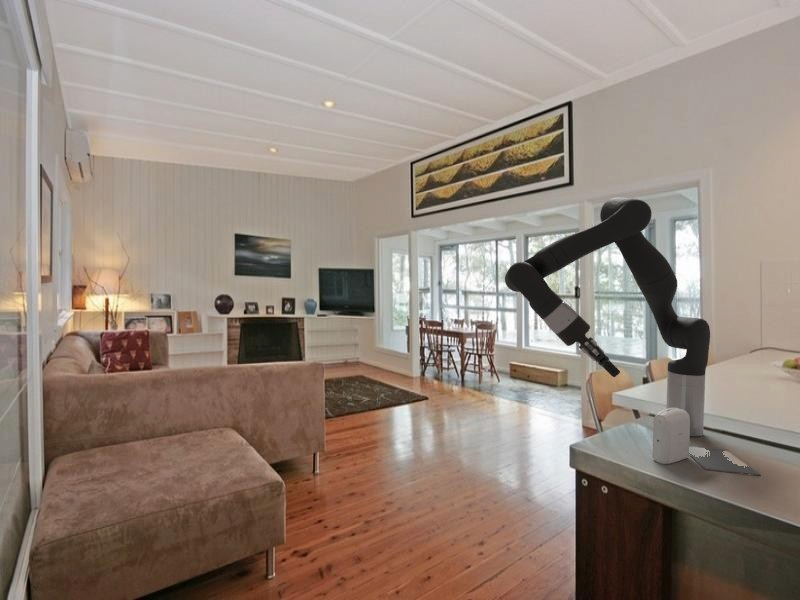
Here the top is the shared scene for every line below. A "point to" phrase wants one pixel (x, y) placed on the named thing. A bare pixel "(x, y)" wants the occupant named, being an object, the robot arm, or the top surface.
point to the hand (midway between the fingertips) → (616, 374)
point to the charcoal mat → (721, 463)
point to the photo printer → (671, 435)
